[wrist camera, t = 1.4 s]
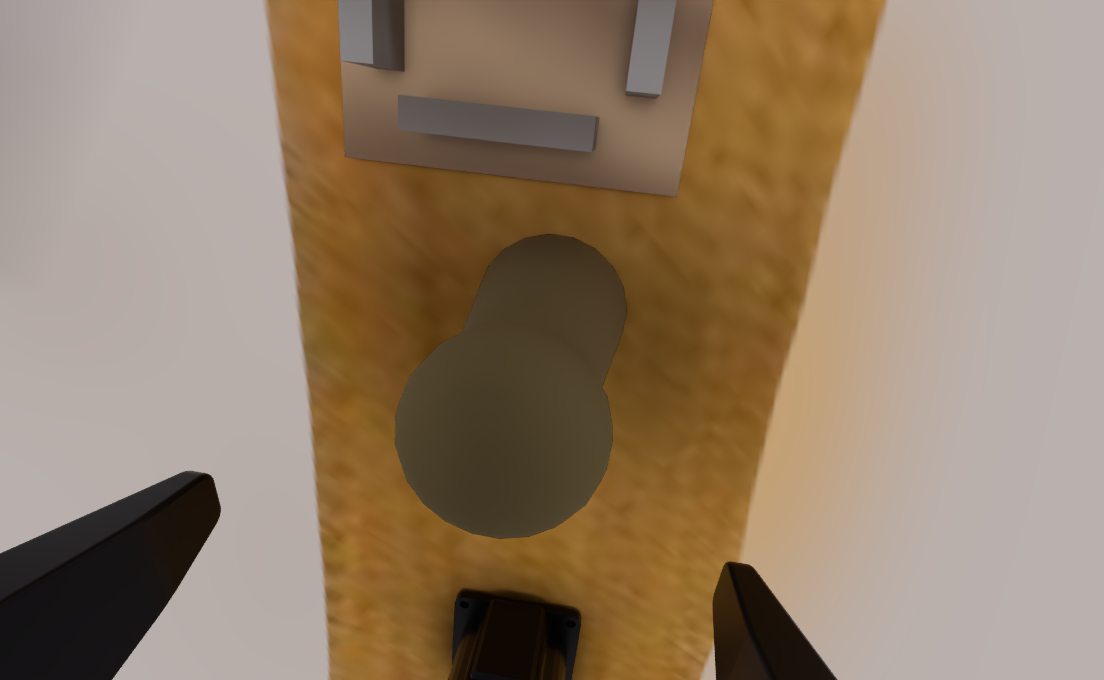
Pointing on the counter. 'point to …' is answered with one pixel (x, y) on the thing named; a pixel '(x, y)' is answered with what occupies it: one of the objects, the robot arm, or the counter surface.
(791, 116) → the counter surface
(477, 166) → the clip holder
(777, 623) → the robot arm
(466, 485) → the cork
